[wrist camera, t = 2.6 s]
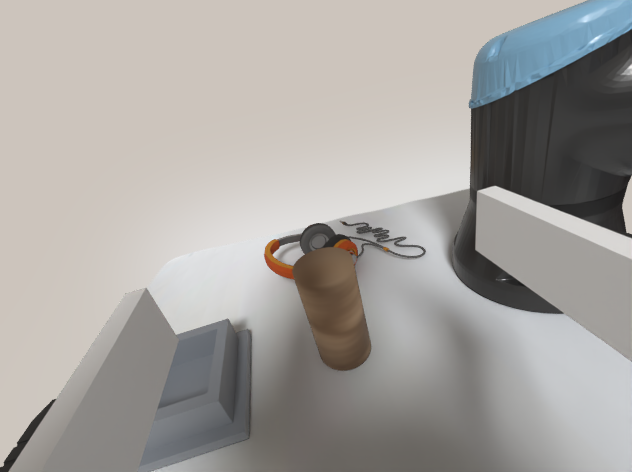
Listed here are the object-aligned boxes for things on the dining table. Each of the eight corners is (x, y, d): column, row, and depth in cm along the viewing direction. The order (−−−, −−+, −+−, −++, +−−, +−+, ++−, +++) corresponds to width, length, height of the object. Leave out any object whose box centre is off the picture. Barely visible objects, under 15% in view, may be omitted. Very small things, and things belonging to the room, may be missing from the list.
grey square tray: (250, 335, 33) (238, 309, 31) (248, 438, 23) (230, 409, 21) (154, 366, 32) (134, 341, 30) (110, 484, 23) (78, 459, 21)
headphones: (439, 232, 37) (295, 273, 29) (434, 269, 39) (298, 318, 31) (359, 202, 51) (246, 224, 42) (359, 230, 53) (250, 257, 44)
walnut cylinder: (361, 321, 31) (343, 241, 26) (379, 360, 26) (361, 272, 22) (315, 336, 31) (289, 257, 26) (325, 377, 26) (296, 292, 21)
